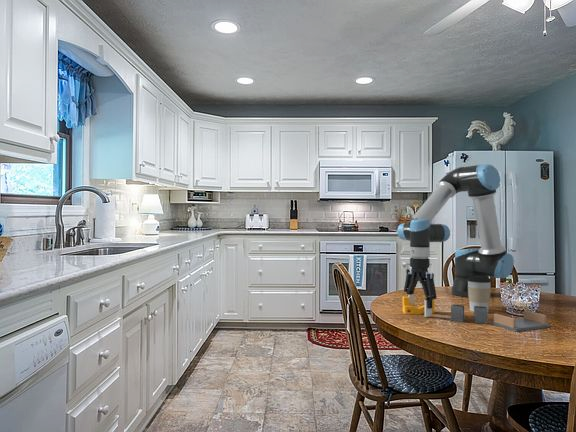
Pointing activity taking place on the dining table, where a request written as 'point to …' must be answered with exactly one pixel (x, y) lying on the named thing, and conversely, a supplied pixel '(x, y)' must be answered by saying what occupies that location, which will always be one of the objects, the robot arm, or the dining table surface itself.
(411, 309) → the pipe clamp
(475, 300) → the coffee cup
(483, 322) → the block
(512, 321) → the end holder
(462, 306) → the block
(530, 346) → the dining table surface
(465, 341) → the dining table surface
